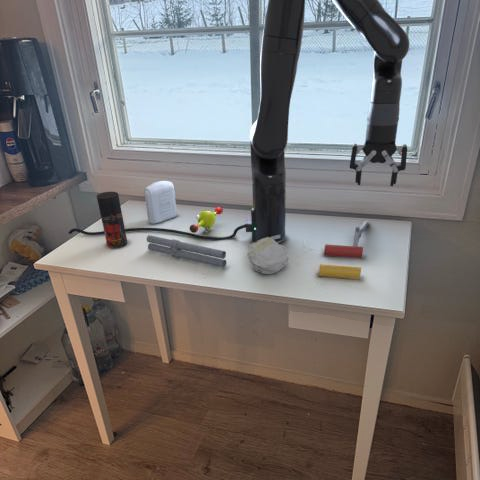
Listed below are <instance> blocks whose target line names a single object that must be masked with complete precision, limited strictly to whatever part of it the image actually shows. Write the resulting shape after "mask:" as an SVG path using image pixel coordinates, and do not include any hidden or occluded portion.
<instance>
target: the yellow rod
mask: <svg viewBox="0 0 480 480" xmlns="http://www.w3.org/2000/svg"><path fill="white" fill-rule="evenodd" d="M361 273H362V267H360V266H348V265H334V264H323V263H320V264H319V268H318V277H323V278H336V279H348V280H359V281H360V280H361Z"/></svg>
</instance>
